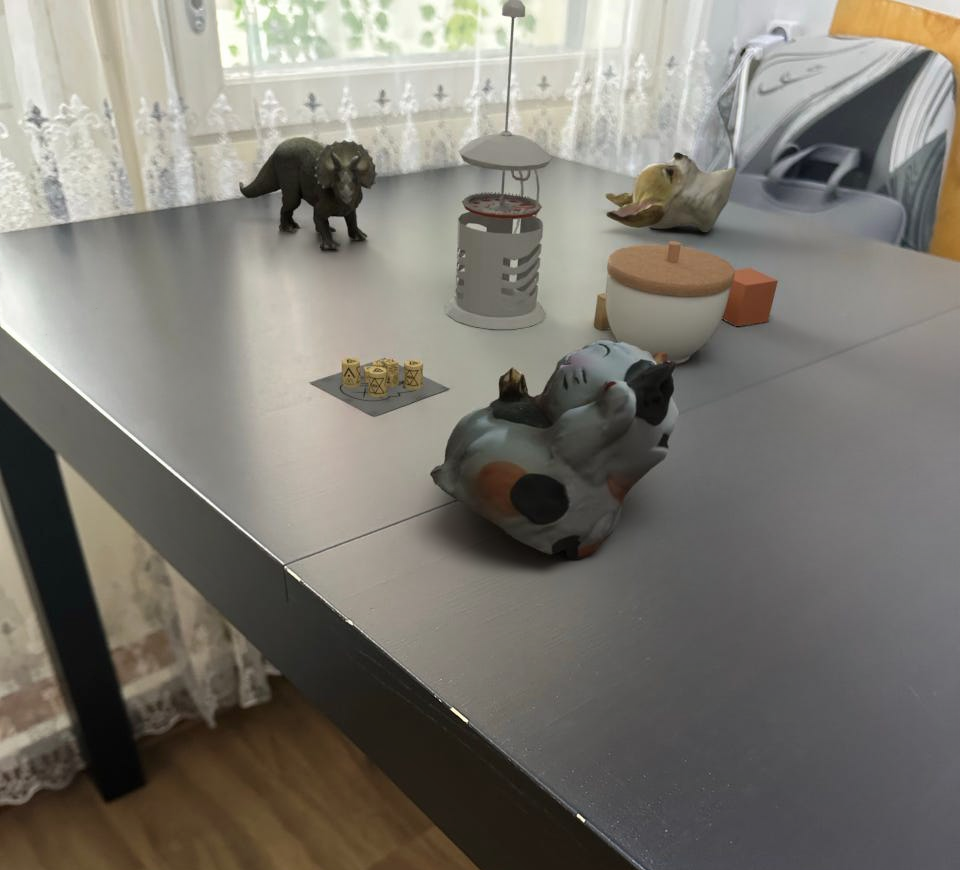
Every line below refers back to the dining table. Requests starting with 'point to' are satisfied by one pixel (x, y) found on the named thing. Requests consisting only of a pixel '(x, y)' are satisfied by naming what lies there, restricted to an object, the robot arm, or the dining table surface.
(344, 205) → the toy dinosaur
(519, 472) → the lucky cat figurine
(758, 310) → the terracotta block
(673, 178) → the ceramic sculpture
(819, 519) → the dining table surface
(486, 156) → the french press
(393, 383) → the dice set
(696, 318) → the trinket box
